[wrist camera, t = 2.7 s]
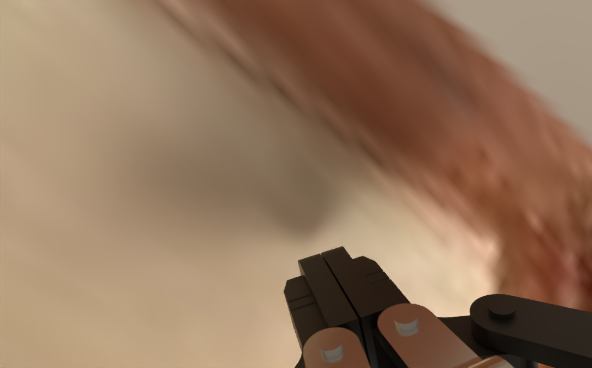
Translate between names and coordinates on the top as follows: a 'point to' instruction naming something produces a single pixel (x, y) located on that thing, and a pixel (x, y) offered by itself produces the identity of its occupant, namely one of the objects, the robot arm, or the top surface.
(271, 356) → the top surface
